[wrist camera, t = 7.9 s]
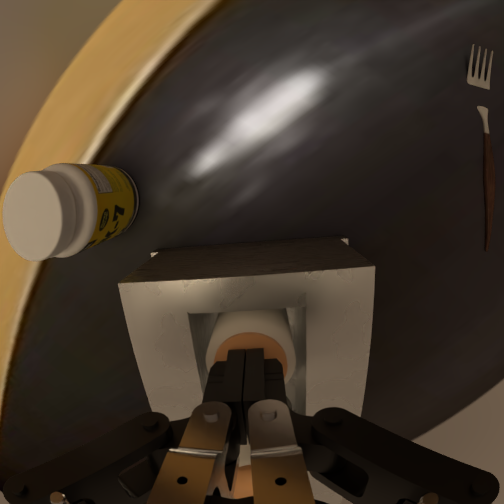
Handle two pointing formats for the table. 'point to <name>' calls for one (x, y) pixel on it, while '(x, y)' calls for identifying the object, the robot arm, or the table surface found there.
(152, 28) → the table surface
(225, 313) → the knob
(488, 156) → the fork
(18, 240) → the supplement bottle
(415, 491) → the robot arm
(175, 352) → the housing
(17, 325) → the table surface
